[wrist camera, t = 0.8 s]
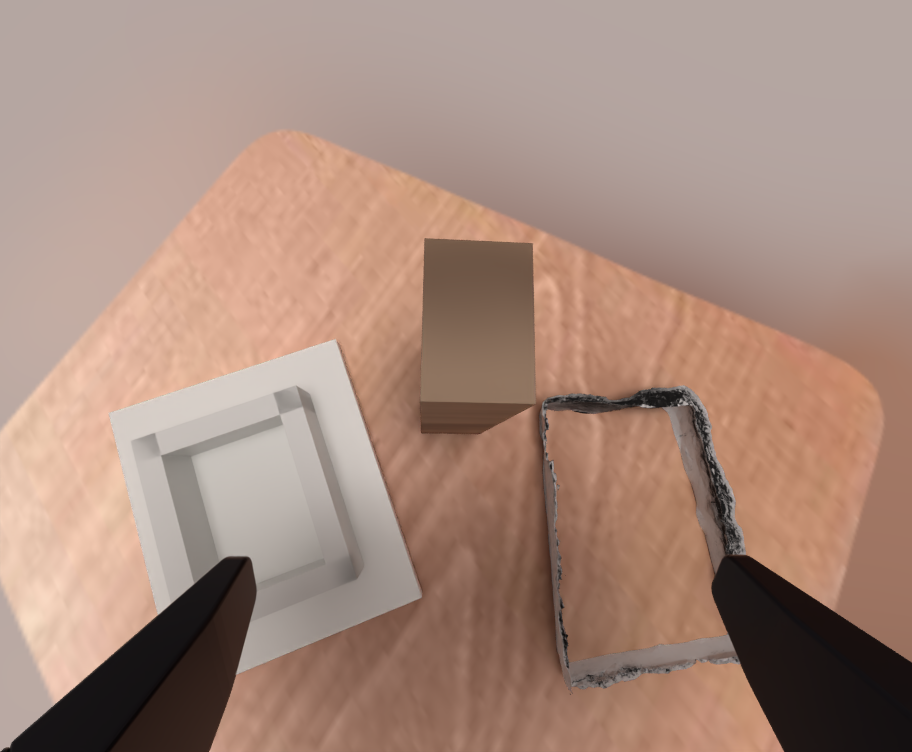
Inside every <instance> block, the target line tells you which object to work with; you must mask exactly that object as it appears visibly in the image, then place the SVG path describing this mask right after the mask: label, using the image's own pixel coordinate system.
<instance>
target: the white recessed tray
mask: <svg viewBox="0 0 912 752" xmlns="http://www.w3.org/2000/svg"><path fill="white" fill-rule="evenodd" d="M109 417H110V421H111V425H112V429H113V433H114V437H115V441H116V446H117V450H118V454H119V458H120V462H121V466H122V470H123V474H124V478H125V482H126V486H127V491H128V495H129V499H130V503H131V507H132V511H133V515H134V519H135V523H136V527H137V531H138V536H139V540H140V544H141V548H142V552H143V556H144V560H145V564H146V568H147V572H148V576H149V581H150V585H151V589H152V593H153V597H154V601H155V605H156V609H157V613H158V615H159V614H160V613H161V612H162V611H163V610H164V609H166V608H167V607H168V606H169V605H170V604H171V603H172V602H174V601H175V600H176V599H177V598H178V597H179V596H181V595H182V594H183V593H184V592H185V591H186V590H187V589H189V588H190V587H191V586H192V585H193V584H194V583H196V582H197V581H198V580H199V579H200V578H201V577H202V576H204V575H205V574H206V573H207V572H208V571H209V570H210V569H212V568H213V567H214V566H215V565H216V564H217V563H219V562H220V561H221V560H222V559H223V558H225V557H228V556H248V557H250V559H251V561H252V565H253V570H254V576H255V581H256V587H257V595H256V601H255V605H254V609H253V613H252V617H251V620H250V624H249V628H248V632H247V635H246V639H245V643H244V647H243V650H242V654H241V658H240V662H239V666H238V669H237V673H236V675H237V674H239V673H242V672H244V671H247V670H249V669H251V668H254V667H256V666H259V665H261V664H263V663H266V662H268V661H271V660H273V659H276V658H278V657H280V656H283V655H285V654H288V653H290V652H292V651H295V650H297V649H300V648H302V647H304V646H307V645H309V644H312V643H314V642H317V641H319V640H321V639H324V638H326V637H329V636H331V635H333V634H336V633H338V632H341V631H343V630H345V629H348V628H350V627H353V626H355V625H357V624H360V623H362V622H365V621H367V620H370V619H372V618H374V617H377V616H379V615H382V614H384V613H386V612H389V611H391V610H394V609H396V608H398V607H401V606H403V605H406V604H408V603H411V602H413V601H415V600H418V599H420V598H422V590H421V587H420V584H419V581H418V578H417V575H416V572H415V569H414V566H413V563H412V560H411V557H410V554H409V551H408V548H407V545H406V543H405V540H404V537H403V534H402V531H401V528H400V525H399V522H398V519H397V516H396V513H395V510H394V507H393V504H392V501H391V498H390V495H389V492H388V489H387V486H386V483H385V480H384V477H383V474H382V471H381V468H380V465H379V462H378V459H377V456H376V453H375V450H374V447H373V444H372V441H371V438H370V435H369V432H368V429H367V426H366V423H365V420H364V417H363V414H362V411H361V408H360V405H359V402H358V399H357V396H356V393H355V390H354V387H353V384H352V381H351V379H350V376H349V373H348V370H347V367H346V364H345V361H344V358H343V355H342V352H341V349H340V346H339V343H338V342H337V341H336V339H334V340H331V341H328V342H325V343H322V344H319V345H316V346H312V347H309V348H306V349H303V350H300V351H297V352H294V353H291V354H288V355H285V356H282V357H279V358H276V359H273V360H270V361H267V362H263V363H260V364H257V365H254V366H251V367H248V368H245V369H242V370H239V371H236V372H233V373H230V374H227V375H224V376H221V377H218V378H214V379H211V380H208V381H205V382H202V383H199V384H196V385H193V386H190V387H187V388H184V389H181V390H178V391H175V392H172V393H169V394H166V395H162V396H159V397H156V398H153V399H150V400H147V401H144V402H141V403H138V404H135V405H132V406H129V407H126V408H123V409H120V410H117V411H113V412H110V413H109Z"/></svg>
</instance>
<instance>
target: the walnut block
mask: <svg viewBox="0 0 912 752" xmlns="http://www.w3.org/2000/svg"><path fill="white" fill-rule="evenodd" d="M535 404H536V379H535V332H534V285H533V243H514V242H492V241H471V240H449V239H427V238H425V242H424V279H423V316H422V352H421V389H420V411H421V433H447V434H481V433H482V432H484V431H486V430H488V429H490V428H492V427H494V426H496V425H497V424H499V423H501V422H503V421H505V420H507V419H509V418H511V417H512V416H514V415H516V414H518V413H520V412H522V411H524V410H526V409H527V408H529V407H531V406H533V405H535Z"/></svg>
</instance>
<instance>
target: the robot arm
mask: <svg viewBox="0 0 912 752" xmlns="http://www.w3.org/2000/svg"><path fill="white" fill-rule="evenodd" d="M256 595H257V587H256V581H255V576H254V570H253V565H252V561H251V559H250V557H248V556H228V557H225V558H223V559H222V560H221V561H220V562H219V563H217V564H216V565H215V566H214V567H213V568H212V569H210V570H209V571H208V572H207V573H206V574H205V575H204V576H202V577H201V578H200V579H199V580H198V581H197V582H196V583H194V584H193V585H192V586H191V587H190V588H189V589H187V590H186V591H185V592H184V593H183V594H182V595H181V596H179V597H178V598H177V599H176V600H175V601H174V602H172V603H171V604H170V605H169V606H168V607H167V608H166V609H164V610H163V611H162V612H161V613H160V614H159V615H158V616H156V617H155V618H154V619H153V620H152V621H151V622H149V623H148V624H147V625H146V626H145V627H144V628H143V629H141V630H140V631H139V632H138V633H137V634H136V635H134V636H133V637H132V638H131V639H130V640H129V641H128V642H126V643H125V644H124V645H123V646H122V647H121V648H119V649H118V650H117V651H116V652H115V653H114V654H113V655H111V656H110V657H109V658H108V659H107V660H106V661H105V662H103V663H102V664H101V665H100V666H99V667H98V668H96V669H95V670H94V671H93V672H92V673H91V674H90V675H88V676H87V677H86V678H85V679H84V680H83V681H81V682H80V683H79V684H78V685H77V686H76V687H75V688H73V689H72V690H71V691H70V692H69V693H68V694H67V695H65V696H64V697H63V698H62V699H61V700H60V701H58V702H57V703H56V704H55V705H54V706H53V707H52V708H50V709H49V710H48V711H47V712H46V713H45V714H43V715H42V716H41V717H40V718H39V719H38V720H37V721H36V722H34V723H33V724H32V725H31V726H30V727H28V728H27V729H26V730H25V731H24V732H23V733H22V734H21V735H20V736H18V737H17V738H16V739H15V740H14V741H13V742H12V743H11V746H10V748H9V747H6V748H4V749H3V750H2V751H1V752H209V751H210V748H211V745H212V743H213V740H214V737H215V735H216V732H217V729H218V727H219V724H220V721H221V719H222V716H223V713H224V711H225V708H226V705H227V702H228V699H229V697H230V694H231V691H232V687H233V684H234V680H235V677H236V673H237V669H238V666H239V662H240V658H241V654H242V650H243V647H244V643H245V639H246V635H247V632H248V628H249V624H250V620H251V617H252V613H253V609H254V605H255V601H256ZM712 595H713V598H714V601H715V603H716V606H717V608H718V611H719V613H720V615H721V618H722V620H723V623H724V625H725V628H726V630H727V632H728V635H729V637H730V640H731V642H732V645H733V647H734V649H735V652H736V654H737V657H738V659H739V662H740V664H741V666H742V669H743V671H744V673H745V675H746V678H747V680H748V682H749V684H750V686H751V688H752V690H753V692H754V694H755V696H756V698H757V700H758V702H759V704H760V706H761V708H762V710H763V712H764V714H765V715H766V717H767V719H768V721H769V723H770V725H771V727H772V729H773V731H774V733H775V735H776V737H777V739H778V741H779V743H780V745H781V746H782V748H783V750H784V752H912V662H910V661H909V660H907V659H905V658H904V657H903V656H901V655H899V654H898V653H896V652H895V651H893V650H892V649H890V648H889V647H887V646H885V645H884V644H883V643H881V642H880V641H878V640H877V639H875V638H873V637H872V636H870V635H869V634H867V633H866V632H864V631H863V630H861V629H859V628H858V627H857V626H855V625H853V624H852V623H851V622H849V621H848V620H846V619H844V618H843V617H841V616H840V615H838V614H837V613H835V612H834V611H832V610H831V609H829V608H828V607H826V606H825V605H823V604H822V603H820V602H819V601H817V600H816V599H814V598H812V597H811V596H809V595H808V594H806V593H805V592H803V591H802V590H800V589H799V588H797V587H796V586H794V585H793V584H791V583H790V582H788V581H787V580H785V579H783V578H782V577H780V576H779V575H777V574H776V573H774V572H773V571H771V570H770V569H768V568H767V567H765V566H764V565H762V564H761V563H759V562H758V561H756V560H754V559H753V558H751V557H750V556H747V555H725V556H724V557H723V558H722V559H721V562H720V564H719V567H718V569H717V572H716V574H715V577H714V579H713V582H712Z"/></svg>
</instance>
